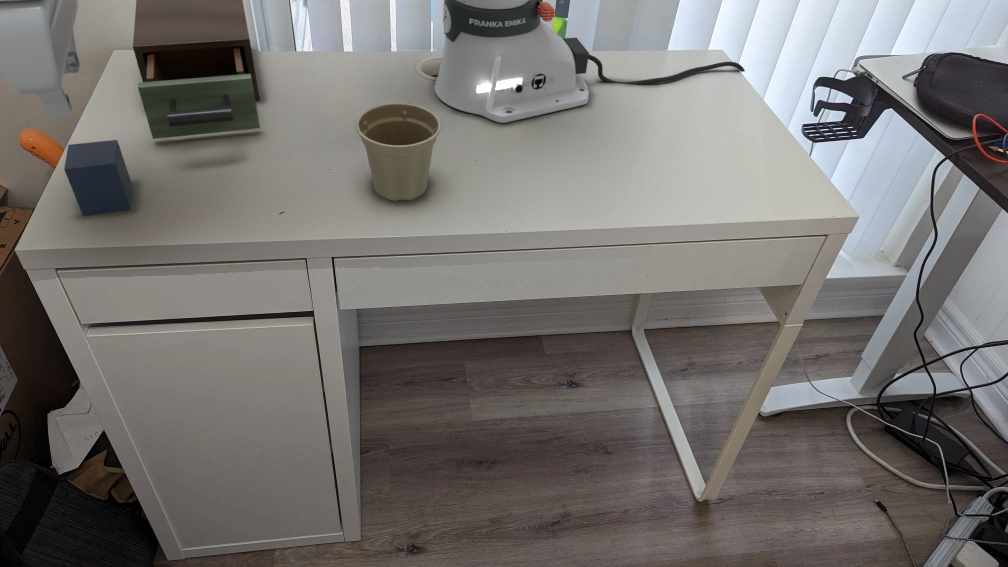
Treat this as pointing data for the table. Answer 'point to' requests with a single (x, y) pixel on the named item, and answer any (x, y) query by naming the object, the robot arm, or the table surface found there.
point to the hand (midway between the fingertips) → (66, 91)
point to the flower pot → (399, 147)
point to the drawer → (198, 92)
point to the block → (98, 177)
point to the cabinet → (191, 29)
